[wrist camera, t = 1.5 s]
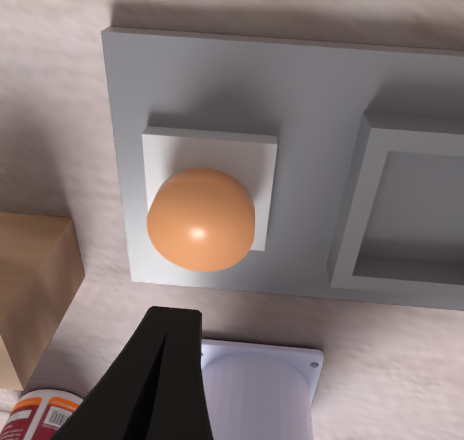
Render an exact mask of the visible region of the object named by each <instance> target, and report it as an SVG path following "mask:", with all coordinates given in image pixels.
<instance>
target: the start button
mask: <svg viewBox="0 0 464 440" xmlns="http://www.w3.org/2000/svg"><path fill="white" fill-rule="evenodd" d="M147 232H148V235H149V238H150V240H151V242H152V244H153V246H154V247H155V249H156V250H157V251H158V252H159V253H160V254H161V255H162V256H163V257H164V258H166V259H167V260H168V261H170V262H171V263H173V264H175V265H177V266H179V267H182V268H185V269H188V270H192V271H198V272H213V271H219V270H223V269H226V268H229V267H231V266H233V265H235V264H236V263H238V262H239V261H241V260H242V259H243V258H244V257H245V256H246V254H247V253H248V252H249V250H250V248H251V246H252V244H253V240H254V232H255V206H254V203H253V200H252V198H251V196H250V194H249V192H248V191H247V189H246V188H245V187H244V186H243V185H242V184H241V183H240V182H239V181H238V180H236V179H235V178H233V177H232V176H230V175H228V174H226V173H224V172H221V171H219V170H215V169H210V168H191V169H186V170H183V171H180V172H178V173H176V174H174V175H172V176H171V177H169V178H168V179H167V180H166V181H165V182H164V183H163V184H162V185H161V186H160V188H159V190H158V191H157V193H156V196H155V198H154V200H153V203H152V205H151V207H150V210H149V212H148V215H147Z"/></svg>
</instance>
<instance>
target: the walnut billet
mask: <svg viewBox="0 0 464 440" xmlns="http://www.w3.org/2000/svg"><path fill="white" fill-rule="evenodd" d="M84 277H85V275H84V270H83V265H82V260H81V255H80V251H79V246H78V241H77V236H76V231H75V227H74V222H73V218H72V217H60V216H48V215H36V214H24V213H13V212H1V211H0V389H10V390H20V391H24V389H25V387H26V385H27V383H28V382H29V380H30V378H31V376H32V374H33V372H34V370H35V369H36V367H37V365H38V363H39V361H40V359H41V357H42V356H43V354H44V352H45V350H46V348H47V346H48V344H49V342H50V341H51V339H52V337H53V335H54V333H55V331H56V329H57V328H58V326H59V324H60V322H61V320H62V318H63V316H64V315H65V313H66V311H67V309H68V307H69V305H70V303H71V302H72V300H73V298H74V296H75V294H76V292H77V290H78V289H79V287H80V285H81V283H82V281H83V279H84Z"/></svg>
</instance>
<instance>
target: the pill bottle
mask: <svg viewBox="0 0 464 440" xmlns="http://www.w3.org/2000/svg"><path fill="white" fill-rule="evenodd" d="M83 400H84V399H82V398H80V397H78V396H76V395H74V394H72V393H69V392H66V391H60V390H52V389H42V390H36V391H32V392H29V393H27V394H25V395H24V396H22V397H21V398H20V399H19V400H18V402H17V403H16V405H15V407H14V409H13V410H12V412H11V414H10V416H9V418H8V420H7V422H6V424H5V426H4V428H3V430H2V432H1V434H0V440H49V439H50V438H51V436H52V435H53V434H54V433H55V432H56V431H57V430H58V429H59V428H60V427H61V426H62V425H63V423H64V422H65V421H66V420H67V419H68V418H69V417H70V416H71V414H72V413H73V412H74V411H75V410H76V409H77V408H78V406H79V405H80V404H81V403H82V402H83Z"/></svg>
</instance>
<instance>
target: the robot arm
mask: <svg viewBox="0 0 464 440" xmlns="http://www.w3.org/2000/svg"><path fill="white" fill-rule="evenodd" d="M323 362H324V355H323V352H322V351H320V350H316V349H305V348H295V347H284V346H273V345H262V344H252V343H241V342H230V341H219V340H209V339H202V313H201V312H200V311H198V310H191V309H180V308H169V307H158V306H152V307H150V308H149V309H148V311H147V313H146V314H145V316H144V318H143V319H142V321H141V323H140V324H139V326H138V327H137V329H136V331H135V332H134V334H133V335H132V337H131V338H130V340H129V341H128V343H127V344H126V345H125V347H124V348H123V350H122V351H121V353H120V354H119V355H118V357H117V358H116V359H115V361H114V362H113V363H112V365H111V366H110V368H109V369H108V370H107V372H106V373H105V374H104V376H103V377H102V378H101V379H100V381H99V382H98V383H97V384H96V386H95V387H94V388H93V389H92V390H91V392H90V393H89V394H88V395H87V397H86V398H85V399H84V400H83V402H82V403H81V404H80V405H79V406H78V408H77V409H76V410H75V411H74V412H73V413H72V414H71V416H70V417H69V418H68V419H67V420H66V421H65V422H64V423H63V425H62V426H61V427H60V428H59V429H58V430H57V431H56V432H55V433H54V434H53V435H52V436H51V438H50V439H49V440H313V430H312V418H311V404H312V400H313V397H314V393H315V390H316V386H317V383H318V379H319V376H320V372H321V369H322V365H323Z"/></svg>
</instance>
